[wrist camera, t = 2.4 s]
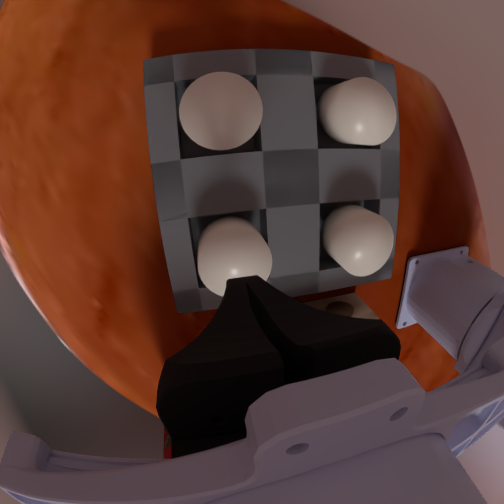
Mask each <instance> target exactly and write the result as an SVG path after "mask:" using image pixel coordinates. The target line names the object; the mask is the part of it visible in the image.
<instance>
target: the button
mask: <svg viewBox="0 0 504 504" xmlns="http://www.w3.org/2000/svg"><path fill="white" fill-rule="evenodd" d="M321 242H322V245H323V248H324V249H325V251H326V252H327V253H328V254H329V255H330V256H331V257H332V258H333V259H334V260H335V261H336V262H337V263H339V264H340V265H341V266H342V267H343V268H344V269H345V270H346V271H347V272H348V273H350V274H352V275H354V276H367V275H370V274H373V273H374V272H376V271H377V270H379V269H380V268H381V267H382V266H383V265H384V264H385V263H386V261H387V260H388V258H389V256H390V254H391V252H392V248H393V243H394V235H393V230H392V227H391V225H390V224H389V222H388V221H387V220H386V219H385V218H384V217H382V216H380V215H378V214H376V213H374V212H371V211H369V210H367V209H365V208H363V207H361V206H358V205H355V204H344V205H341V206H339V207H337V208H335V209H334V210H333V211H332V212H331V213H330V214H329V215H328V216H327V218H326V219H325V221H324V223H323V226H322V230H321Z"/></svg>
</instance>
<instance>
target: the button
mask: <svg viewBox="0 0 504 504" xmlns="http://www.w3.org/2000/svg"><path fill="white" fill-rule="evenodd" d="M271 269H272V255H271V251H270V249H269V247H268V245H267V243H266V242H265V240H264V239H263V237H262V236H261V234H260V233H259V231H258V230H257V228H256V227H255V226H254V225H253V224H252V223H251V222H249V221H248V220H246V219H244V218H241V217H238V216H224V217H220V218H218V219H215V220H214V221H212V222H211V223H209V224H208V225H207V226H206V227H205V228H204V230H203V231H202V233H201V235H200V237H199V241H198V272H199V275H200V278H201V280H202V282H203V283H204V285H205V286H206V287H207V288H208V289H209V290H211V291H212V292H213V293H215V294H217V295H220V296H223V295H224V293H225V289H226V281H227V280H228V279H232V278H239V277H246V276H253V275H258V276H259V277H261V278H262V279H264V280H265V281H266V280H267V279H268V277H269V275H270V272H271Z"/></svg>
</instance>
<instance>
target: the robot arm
mask: <svg viewBox="0 0 504 504" xmlns="http://www.w3.org/2000/svg"><path fill="white" fill-rule="evenodd" d="M468 252H469V248H468V247H467V246H462V247H458V248H453V249H448V250H444V251H439V252H434V253H429V254H424V255H419V256H414V257H411V258H409V260H408V262H407V269H406V275H405V281H404V287H403V292H402V298H401V303H400V308H399V312H398V317H397V321H396V327H397V328H398V329H400V328H403V327H406V326H409V325H412V324H415V323H419V324H420V325H421V326H422V327H423V328H424V329H425V330H426V331H427V332H428V333H429V334H430V335H431V336H432V337H433V338H434V339H435V340H436V341H437V342H438V343H440V344H441V345H442V346H443V347H444V348H445V349H446V350H447V351H448V352H449V353H450V354H451V355H452V356H453V357H454V358H455V359H456V360H457V362H456V364H455V366H454V368H455V369H456V370H457V371H458V372H459V373H460V375H459V376H458V377H456V378H455V379H453V380H451V381H449V382H447V383H446V384H444V385H442V386H440V387H438V388H436V389H434V390H432V391H429V392H425V391H424V389H423V388H422V387H421V386H420V384H419V383H418V382H417V381H416V379H415V378H414V377H413V376H412V375H411V373H410V372H409V371H408V370H407V369H406V367H405V366H404V365H403V364H402V363H401V362H399V361H398V359H399V356H400V350H401V345H400V340H399V339H398V337H397V336H396V334H395V333H394V332H393V331H392V330H391V329H390V328H389V327H388V326H387V325H386V324H385V323H384V322H383V321H382V320H381V319H366V318H355V317H349V316H343V315H338V314H334V313H330V312H326V311H323V310H320V309H317V308H314V307H311V306H309V305H306V304H304V303H302V302H299V301H297V300H295V299H293V298H292V297H290V296H288V295H286V294H284V293H283V292H281V291H280V290H278V289H276V288H275V287H273V286H272V285H271V284H269V283H268V282H266V281H265V280H264V279H262V278H261V277H259V276H258V275H253V276H246V277H239V278H232V279H228V280H227V281H226V289H225V293H224V295H223V298H222V301H221V303H220V305H219V307H218V309H217V311H216V313H215V315H214V317H213V318H212V320H211V321H210V323H209V324H208V326H207V327H206V328H205V329H204V331H203V332H202V333H201V334H200V335H199V336H198V337H197V338H196V339H195V340H194V341H193V342H192V343H191V344H189V345H188V346H187V347H186V348H184V349H183V350H181V351H180V352H178V353H177V354H175V355H174V356H172V357H170V358H169V359H167V360H166V361H165V364H164V366H163V369H162V372H161V376H160V380H159V384H158V390H157V402H156V408H157V412H158V415H159V417H160V419H161V421H162V423H163V425H164V427H165V429H166V430H167V432H168V434H169V436H170V438H171V459H125V458H110V457H97V456H88V455H80V454H73V453H66V452H60V451H54V450H50V449H49V447H48V446H47V445H46V443H45V442H44V441H42V440H41V439H40V438H38V437H36V436H34V435H31V434H26V433H21V432H17V431H12V432H11V434H10V437H9V440H8V442H7V445H6V448H5V451H4V454H3V457H2V460H1V463H0V488H1V489H2V490H3V491H5V492H6V493H7V494H9V495H10V496H12V497H13V498H14V499H16V500H17V501H19V502H20V503H22V504H487V502H486V501H485V499H484V498H483V497H482V495H481V493H480V492H479V490H478V489H477V487H476V486H475V484H474V483H473V481H472V480H471V478H470V477H469V475H468V474H467V472H466V471H465V469H464V468H463V467H462V465H461V464H460V462H459V461H458V459H457V458H456V457H458V456H459V455H460V454H461V453H463V452H464V451H465V450H466V449H468V448H469V447H470V446H471V445H473V444H474V443H475V442H476V441H477V440H478V439H479V438H481V437H482V436H483V435H484V434H485V433H486V432H487V431H489V429H491V428H492V427H493V426H494V425H495V424H497V425H498V426H499V427H502V428H503V429H504V277H503V276H501V275H500V274H498V273H497V272H495V271H493V270H492V269H490V268H488V267H487V266H485V265H483V264H481V263H480V262H478V261H476V260H474V259H473V258H471V257H469V256H468ZM415 262H416V263H415Z"/></svg>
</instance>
